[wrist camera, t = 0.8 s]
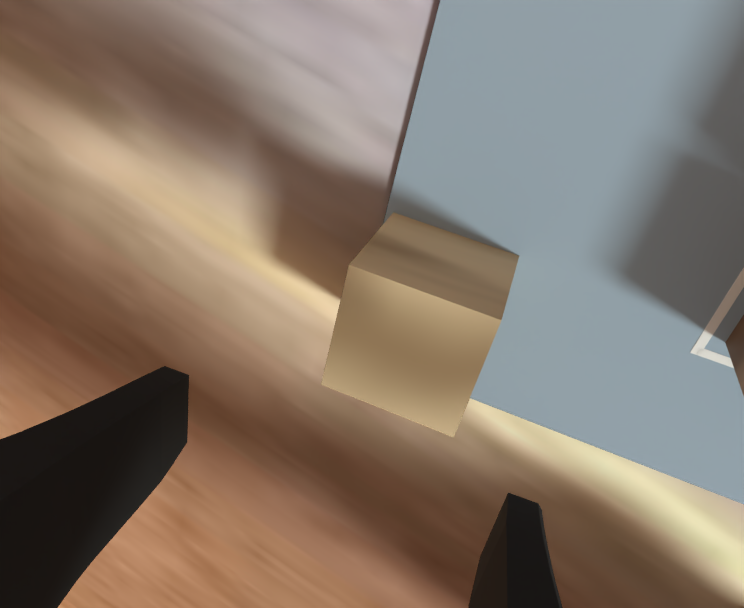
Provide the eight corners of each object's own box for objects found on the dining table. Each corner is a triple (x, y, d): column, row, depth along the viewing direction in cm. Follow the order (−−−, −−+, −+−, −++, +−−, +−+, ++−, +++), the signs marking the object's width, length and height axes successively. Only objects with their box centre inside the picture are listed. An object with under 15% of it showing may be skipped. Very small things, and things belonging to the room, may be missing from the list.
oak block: (477, 360, 23) (453, 437, 19) (365, 318, 23) (320, 384, 20) (519, 255, 20) (501, 320, 17) (393, 212, 21) (348, 264, 17)
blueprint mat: (877, 552, 21) (879, 557, 21) (352, 348, 25) (350, 352, 24) (1367, 96, 13) (1378, 97, 13) (474, -127, 16) (473, -128, 16)
